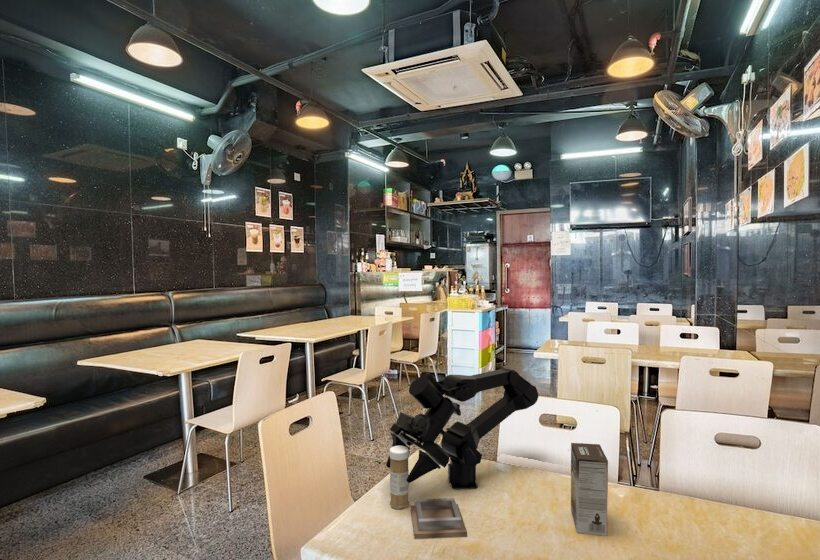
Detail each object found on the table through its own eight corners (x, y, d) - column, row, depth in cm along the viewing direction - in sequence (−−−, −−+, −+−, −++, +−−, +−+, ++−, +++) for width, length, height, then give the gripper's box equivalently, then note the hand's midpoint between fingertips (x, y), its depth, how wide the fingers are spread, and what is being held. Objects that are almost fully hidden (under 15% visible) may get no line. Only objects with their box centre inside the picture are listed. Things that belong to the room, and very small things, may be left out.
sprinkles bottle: (405, 498, 107) (405, 443, 107) (411, 508, 103) (411, 451, 103) (387, 501, 106) (387, 445, 106) (392, 511, 102) (392, 453, 101)
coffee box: (569, 510, 102) (570, 441, 102) (599, 513, 101) (599, 443, 100) (576, 533, 93) (576, 457, 93) (608, 537, 92) (609, 460, 91)
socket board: (457, 508, 103) (457, 495, 103) (467, 536, 92) (467, 522, 92) (410, 510, 102) (410, 497, 102) (414, 538, 91) (414, 524, 91)
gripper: (396, 391, 114) (357, 442, 109) (439, 410, 99) (397, 471, 93) (421, 416, 119) (385, 466, 113) (466, 438, 103) (427, 497, 97)
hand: (397, 474), depth 104 cm, fingers open, 9 cm apart
